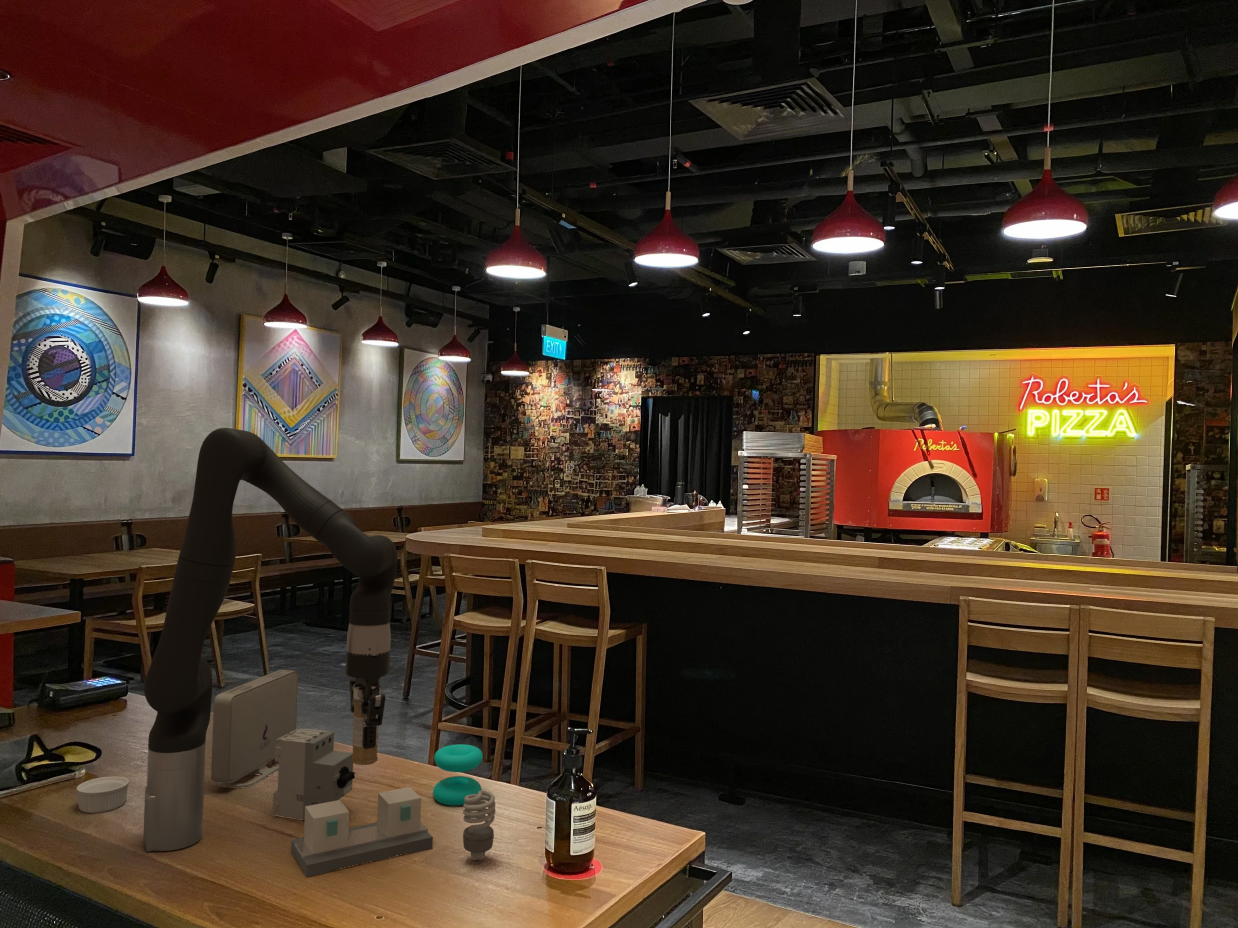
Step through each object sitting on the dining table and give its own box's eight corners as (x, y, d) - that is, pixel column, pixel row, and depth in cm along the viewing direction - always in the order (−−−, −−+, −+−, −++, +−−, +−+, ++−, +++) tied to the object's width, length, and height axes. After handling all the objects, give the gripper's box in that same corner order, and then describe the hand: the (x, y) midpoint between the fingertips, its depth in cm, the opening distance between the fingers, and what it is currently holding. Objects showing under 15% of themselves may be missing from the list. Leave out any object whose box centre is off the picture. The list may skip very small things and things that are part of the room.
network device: (236, 795, 174) (240, 698, 174) (198, 791, 176) (202, 694, 176) (304, 755, 199) (307, 669, 200) (270, 751, 201) (273, 667, 201)
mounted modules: (313, 855, 143) (314, 820, 144) (303, 840, 149) (305, 806, 149) (421, 832, 154) (422, 799, 154) (408, 818, 160) (409, 786, 160)
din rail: (303, 858, 143) (303, 855, 143) (294, 845, 148) (294, 842, 148) (427, 831, 156) (427, 828, 156) (416, 819, 161) (416, 817, 161)
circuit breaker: (339, 825, 162) (342, 746, 162) (272, 816, 165) (275, 739, 165) (359, 809, 169) (361, 734, 169) (294, 802, 172) (297, 727, 172)
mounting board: (306, 876, 141) (306, 864, 141) (291, 850, 150) (291, 839, 150) (432, 847, 153) (432, 836, 153) (411, 825, 163) (411, 815, 163)
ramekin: (66, 808, 166) (66, 786, 166) (111, 793, 173) (112, 772, 173) (93, 818, 161) (93, 795, 161) (138, 802, 169) (139, 781, 169)
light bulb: (479, 850, 153) (481, 783, 153) (500, 860, 150) (502, 791, 150) (454, 860, 149) (457, 792, 149) (476, 871, 145) (478, 800, 145)
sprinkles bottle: (369, 755, 155) (372, 681, 155) (382, 762, 152) (385, 686, 152) (346, 761, 152) (349, 685, 152) (359, 767, 148) (362, 690, 149)
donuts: (424, 751, 175) (456, 739, 184) (422, 800, 175) (455, 785, 184) (461, 761, 170) (492, 748, 179) (459, 811, 170) (491, 795, 179)
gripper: (336, 641, 156) (332, 735, 156) (359, 657, 144) (355, 759, 144) (377, 638, 160) (373, 729, 160) (402, 654, 148) (398, 752, 148)
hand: (364, 742), depth 152 cm, fingers closed on sprinkles bottle, 4 cm apart
